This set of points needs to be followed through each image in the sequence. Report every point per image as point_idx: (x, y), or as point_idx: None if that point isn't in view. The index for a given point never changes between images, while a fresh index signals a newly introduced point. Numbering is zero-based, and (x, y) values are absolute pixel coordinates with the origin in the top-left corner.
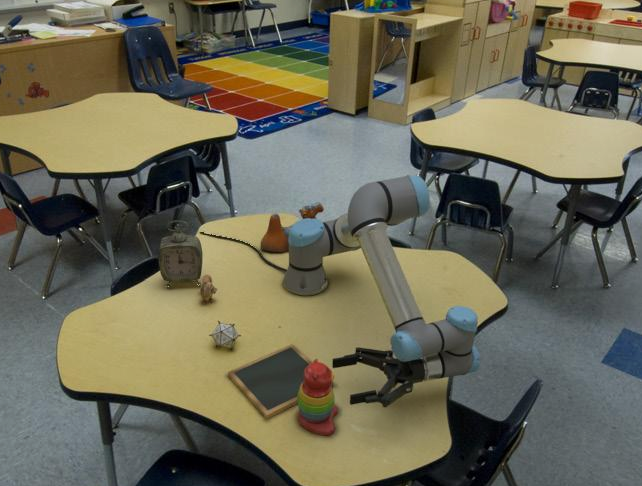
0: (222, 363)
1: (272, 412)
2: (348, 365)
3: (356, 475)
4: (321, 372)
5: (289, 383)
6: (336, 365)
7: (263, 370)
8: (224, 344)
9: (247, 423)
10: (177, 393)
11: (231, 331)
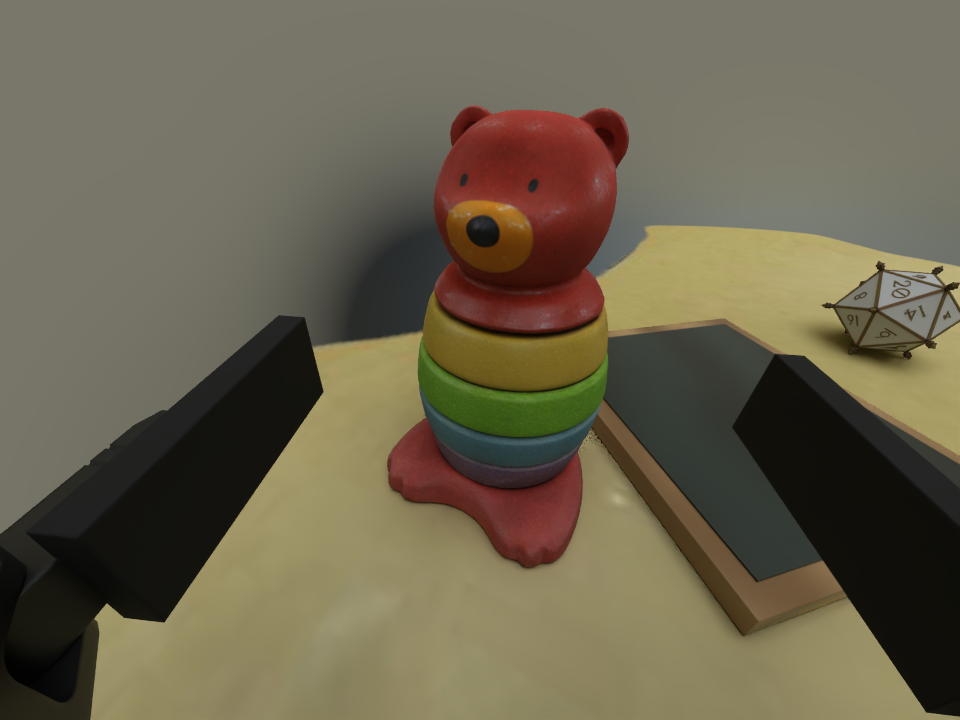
0: (771, 331)
1: None
2: (830, 564)
3: None
4: (478, 122)
5: (696, 416)
6: (761, 429)
7: (757, 372)
8: (845, 311)
9: None
10: (641, 275)
11: (911, 294)
